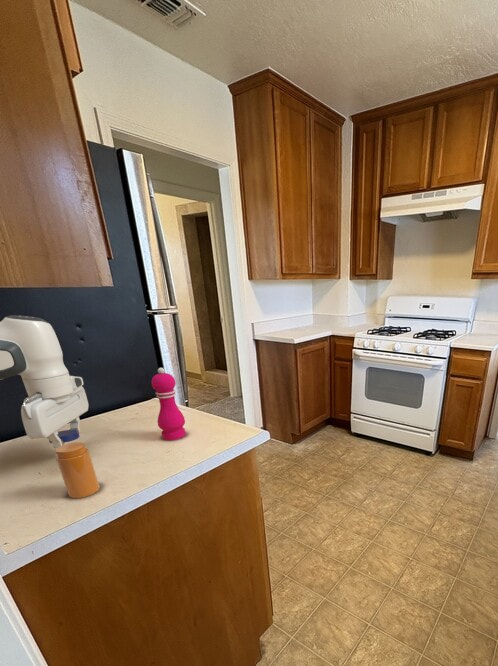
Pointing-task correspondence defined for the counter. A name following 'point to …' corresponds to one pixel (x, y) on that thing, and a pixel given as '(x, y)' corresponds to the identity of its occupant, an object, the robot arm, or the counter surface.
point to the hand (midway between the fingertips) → (68, 440)
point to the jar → (77, 470)
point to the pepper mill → (168, 406)
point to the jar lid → (68, 435)
